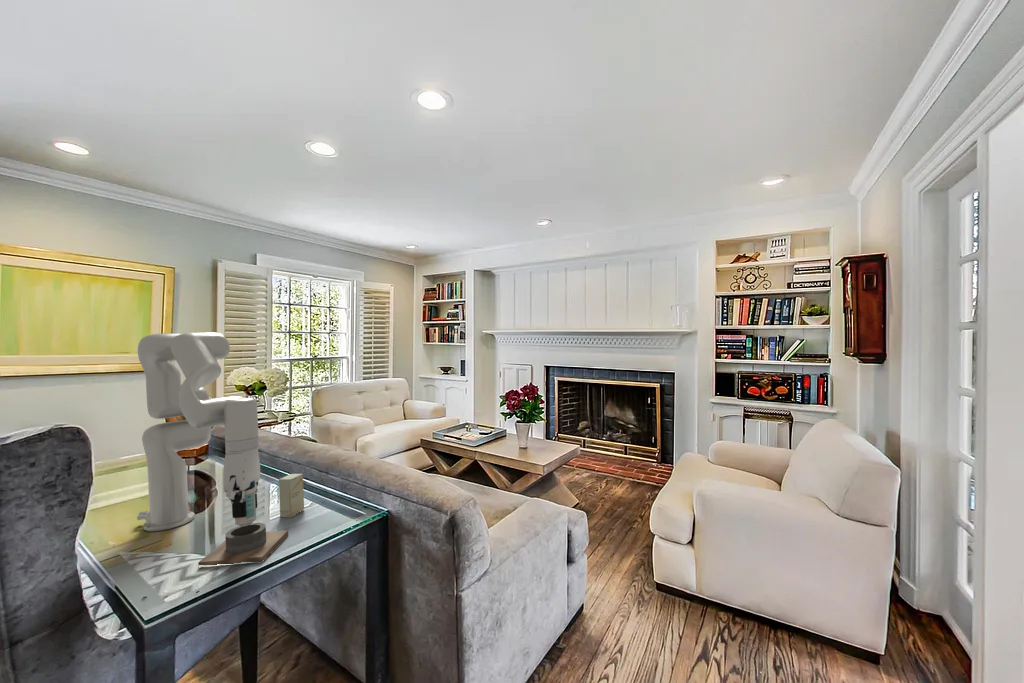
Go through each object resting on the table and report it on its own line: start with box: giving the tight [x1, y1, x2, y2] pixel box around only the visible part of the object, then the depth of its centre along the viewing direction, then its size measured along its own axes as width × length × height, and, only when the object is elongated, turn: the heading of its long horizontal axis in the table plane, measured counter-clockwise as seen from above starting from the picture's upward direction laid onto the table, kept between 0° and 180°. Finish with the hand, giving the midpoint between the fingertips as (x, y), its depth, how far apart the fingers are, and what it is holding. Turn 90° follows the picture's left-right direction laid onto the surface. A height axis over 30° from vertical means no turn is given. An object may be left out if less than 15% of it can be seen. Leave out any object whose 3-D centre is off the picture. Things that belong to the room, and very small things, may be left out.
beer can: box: [234, 479, 257, 526], centre depth 112 cm, size 5×5×12 cm
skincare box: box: [278, 473, 305, 518], centre depth 136 cm, size 6×4×12 cm
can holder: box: [198, 522, 289, 566], centre depth 112 cm, size 15×15×6 cm
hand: (245, 512), depth 112 cm, fingers closed on beer can, 4 cm apart
